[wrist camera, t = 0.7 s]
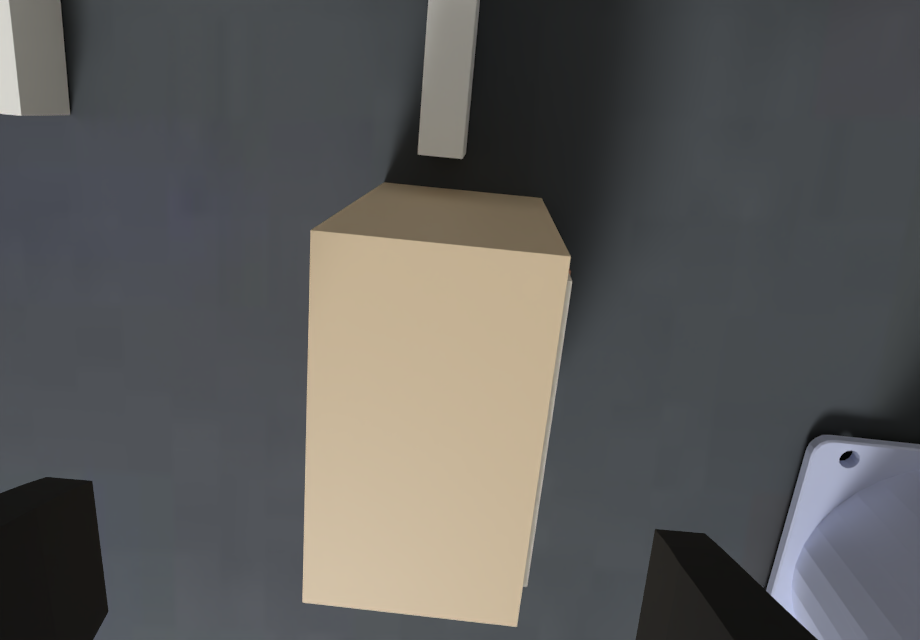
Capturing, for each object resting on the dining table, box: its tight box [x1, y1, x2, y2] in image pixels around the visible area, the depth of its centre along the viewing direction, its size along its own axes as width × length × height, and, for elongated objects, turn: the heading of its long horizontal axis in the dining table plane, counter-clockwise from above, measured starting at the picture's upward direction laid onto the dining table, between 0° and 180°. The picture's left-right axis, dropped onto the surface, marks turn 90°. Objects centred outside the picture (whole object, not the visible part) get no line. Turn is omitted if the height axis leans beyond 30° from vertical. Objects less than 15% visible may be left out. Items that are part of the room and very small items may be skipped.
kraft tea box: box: [303, 182, 572, 627], centre depth 15 cm, size 7×4×7 cm, turn 175°
